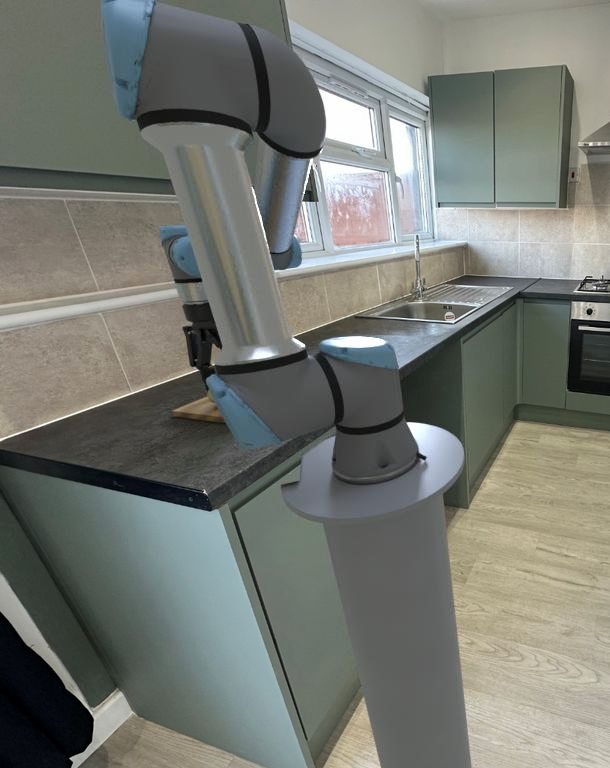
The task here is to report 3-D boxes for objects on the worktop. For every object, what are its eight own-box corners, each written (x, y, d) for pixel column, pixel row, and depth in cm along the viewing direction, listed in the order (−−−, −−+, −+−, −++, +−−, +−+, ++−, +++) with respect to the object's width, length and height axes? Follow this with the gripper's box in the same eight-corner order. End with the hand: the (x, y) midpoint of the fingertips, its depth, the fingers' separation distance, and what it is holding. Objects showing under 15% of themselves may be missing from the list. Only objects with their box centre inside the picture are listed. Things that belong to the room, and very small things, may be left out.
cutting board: (290, 400, 103) (289, 394, 102) (242, 425, 90) (240, 419, 90) (227, 393, 108) (226, 388, 108) (174, 416, 96) (171, 410, 95)
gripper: (256, 299, 91) (280, 394, 99) (182, 297, 96) (210, 387, 105) (225, 305, 84) (253, 407, 92) (148, 303, 90) (181, 398, 98)
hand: (230, 396), depth 98 cm, fingers closed on bread roll, 9 cm apart
